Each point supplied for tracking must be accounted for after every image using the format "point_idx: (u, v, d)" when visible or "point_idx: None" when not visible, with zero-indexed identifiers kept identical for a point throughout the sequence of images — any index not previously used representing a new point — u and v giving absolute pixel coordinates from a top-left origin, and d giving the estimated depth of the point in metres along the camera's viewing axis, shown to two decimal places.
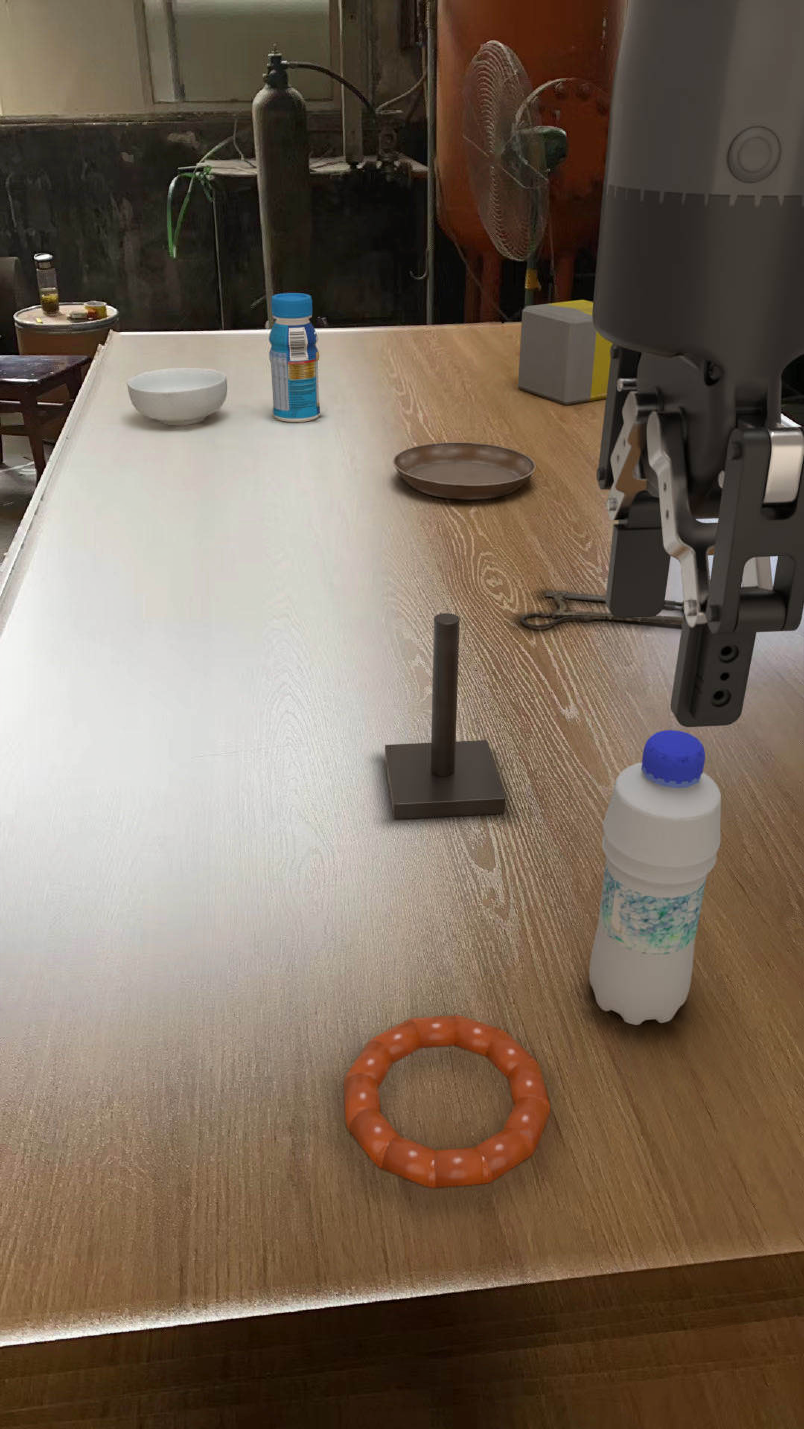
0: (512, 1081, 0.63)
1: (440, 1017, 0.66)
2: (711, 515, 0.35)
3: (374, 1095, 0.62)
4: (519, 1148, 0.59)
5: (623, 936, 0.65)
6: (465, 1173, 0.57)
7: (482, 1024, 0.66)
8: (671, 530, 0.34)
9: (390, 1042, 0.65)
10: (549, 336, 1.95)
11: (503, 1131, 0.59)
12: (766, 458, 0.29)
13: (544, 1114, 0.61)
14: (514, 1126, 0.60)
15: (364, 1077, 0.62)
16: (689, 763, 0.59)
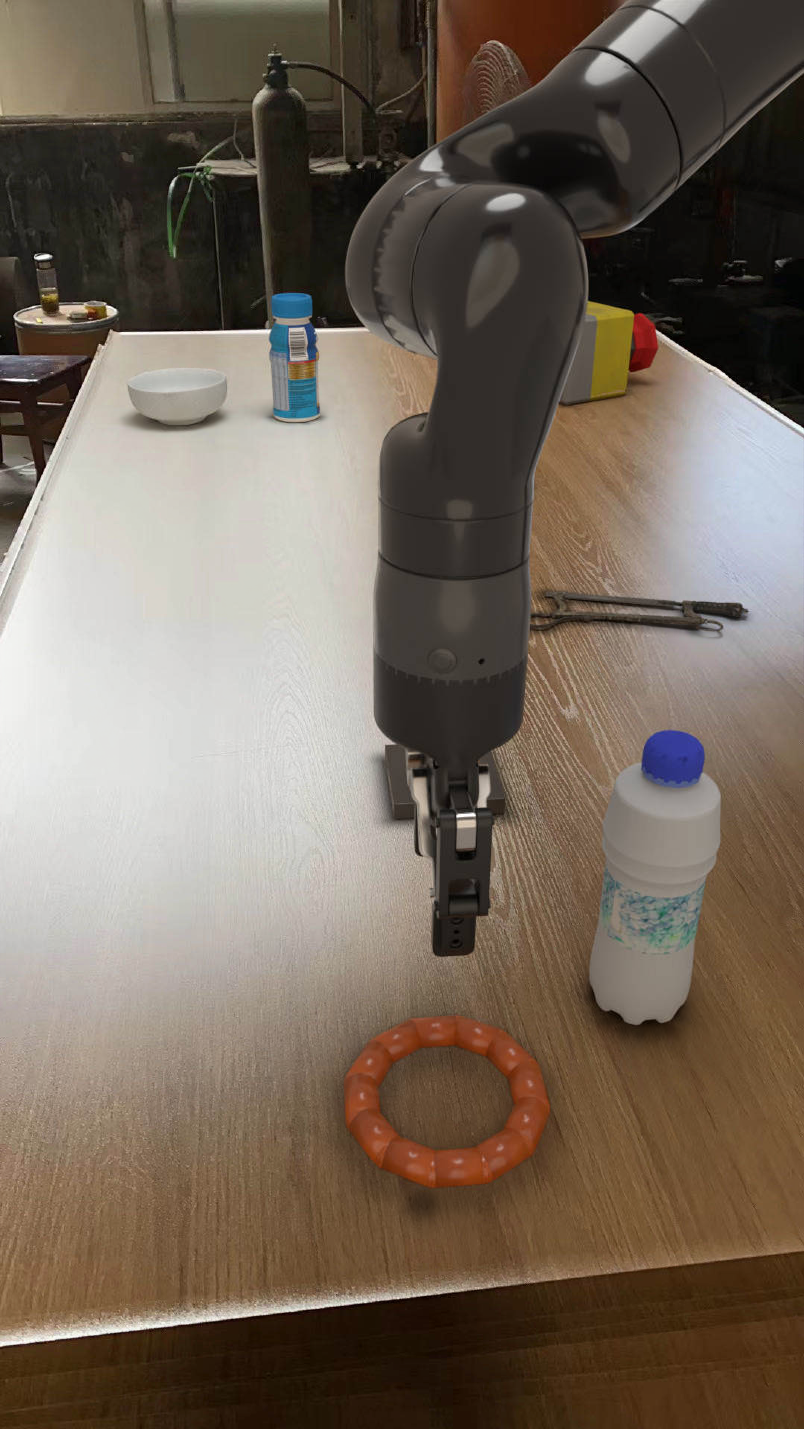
0: (512, 1081, 0.63)
1: (440, 1017, 0.66)
2: None
3: (374, 1095, 0.62)
4: (519, 1148, 0.59)
5: (623, 936, 0.65)
6: (465, 1173, 0.57)
7: (482, 1024, 0.66)
8: (420, 844, 0.54)
9: (390, 1042, 0.65)
10: None
11: (503, 1131, 0.59)
12: (454, 830, 0.50)
13: (544, 1114, 0.61)
14: (514, 1126, 0.60)
15: (364, 1077, 0.62)
16: (689, 763, 0.59)
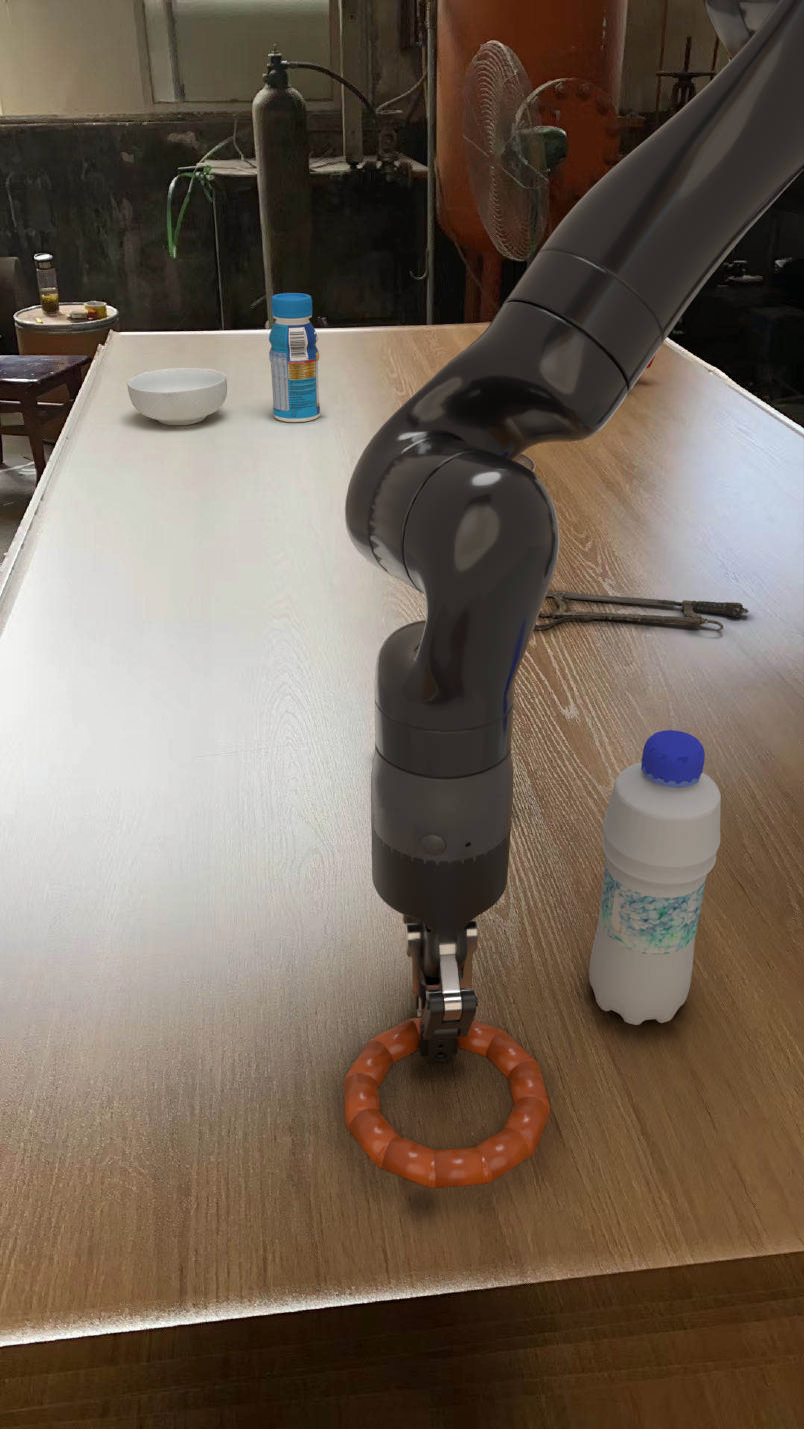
0: (512, 1081, 0.63)
1: None
2: None
3: (374, 1095, 0.62)
4: (519, 1148, 0.59)
5: (623, 936, 0.65)
6: (465, 1173, 0.57)
7: (482, 1024, 0.66)
8: (411, 983, 0.62)
9: (390, 1042, 0.65)
10: None
11: (503, 1131, 0.59)
12: (442, 1015, 0.57)
13: (544, 1114, 0.61)
14: (514, 1126, 0.60)
15: (364, 1077, 0.62)
16: (689, 763, 0.59)
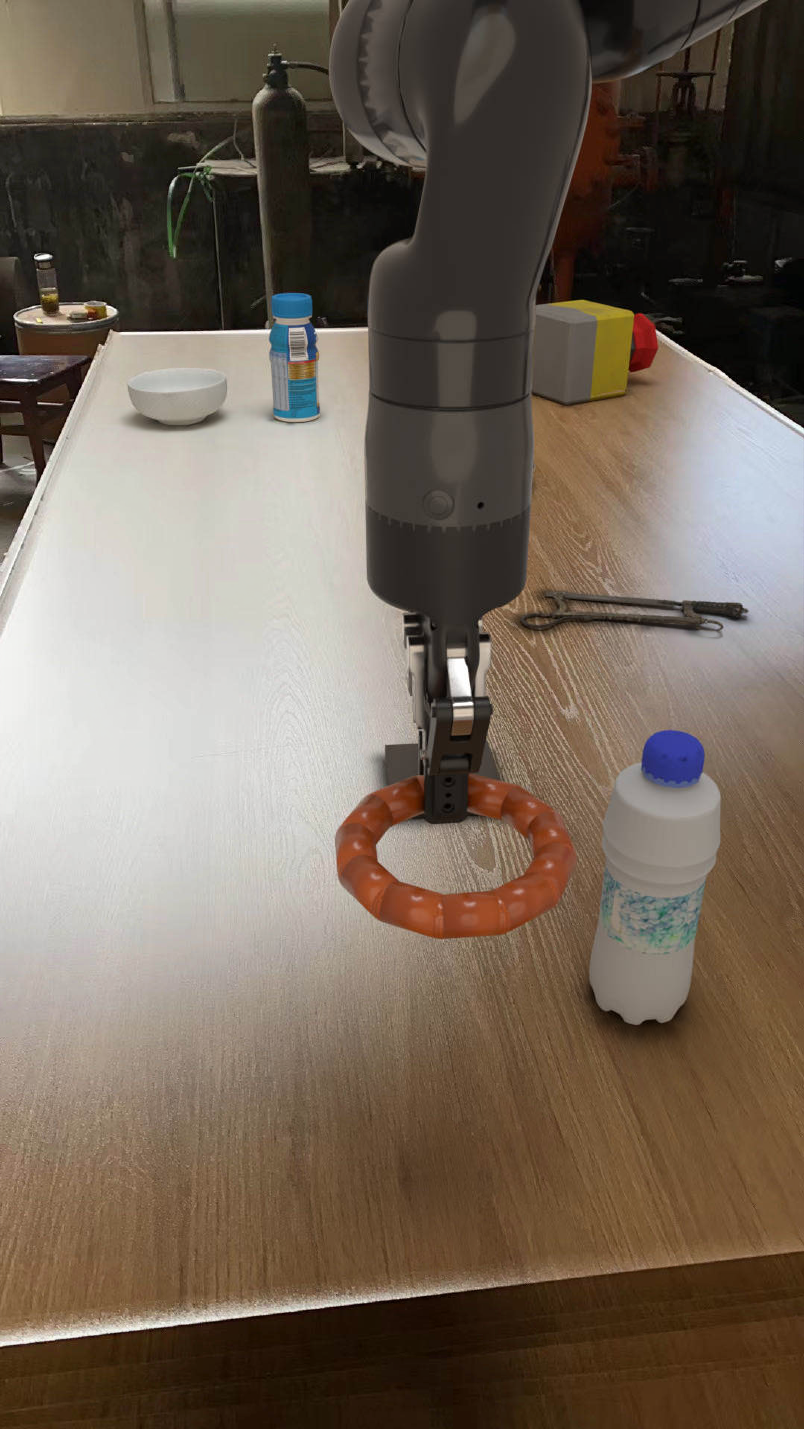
0: (532, 832, 0.54)
1: None
2: None
3: (370, 844, 0.53)
4: (542, 891, 0.50)
5: (623, 936, 0.65)
6: (478, 915, 0.48)
7: (496, 780, 0.57)
8: (413, 712, 0.53)
9: (389, 796, 0.56)
10: (549, 336, 1.95)
11: (522, 875, 0.50)
12: (450, 723, 0.48)
13: (570, 861, 0.52)
14: (535, 870, 0.51)
15: (359, 827, 0.53)
16: (689, 763, 0.59)
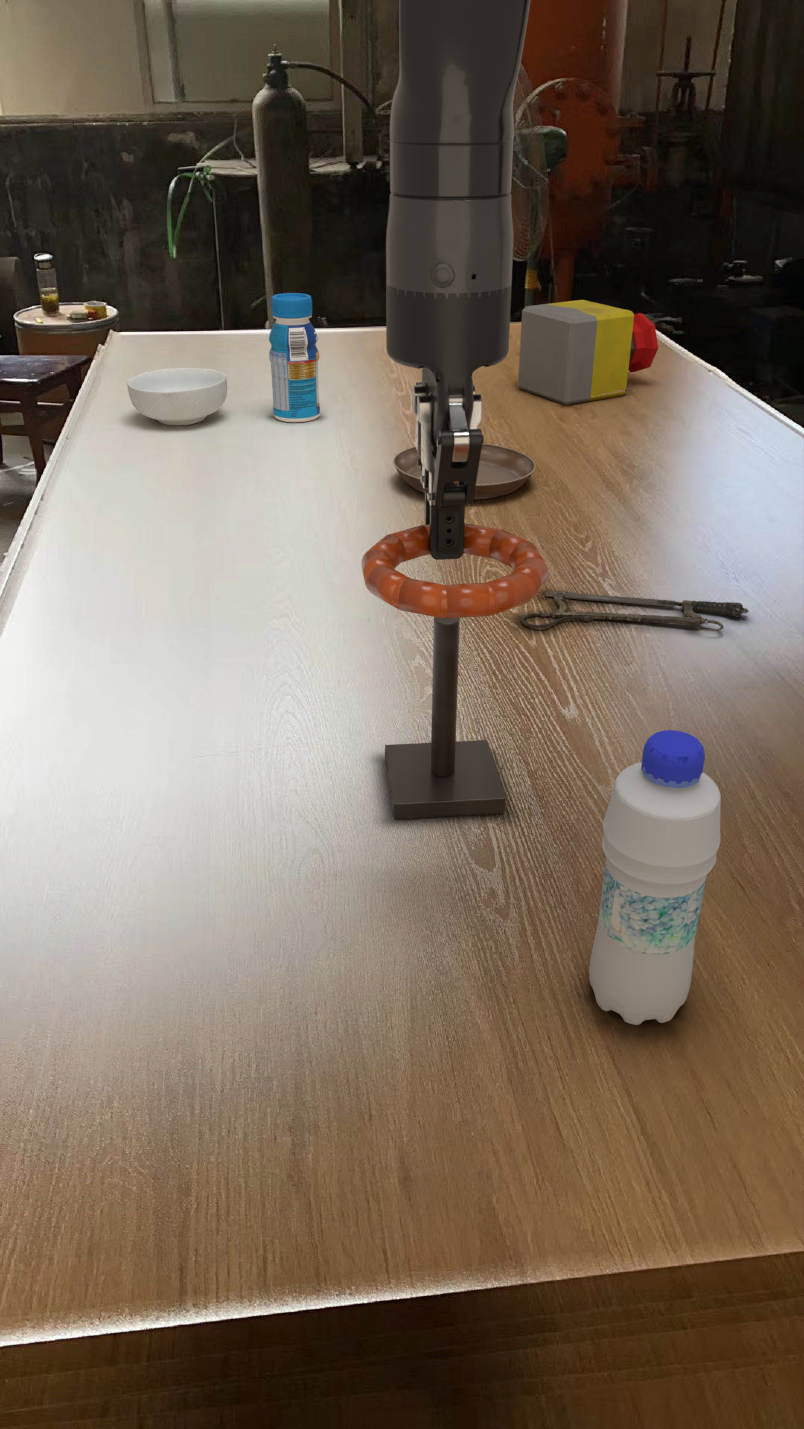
0: (513, 556, 0.70)
1: None
2: None
3: (389, 562, 0.68)
4: (521, 584, 0.65)
5: (623, 936, 0.65)
6: (473, 596, 0.64)
7: None
8: (422, 459, 0.68)
9: (402, 535, 0.71)
10: (549, 336, 1.95)
11: None
12: (451, 448, 0.64)
13: (543, 570, 0.68)
14: (516, 572, 0.66)
15: (380, 551, 0.69)
16: (689, 763, 0.59)
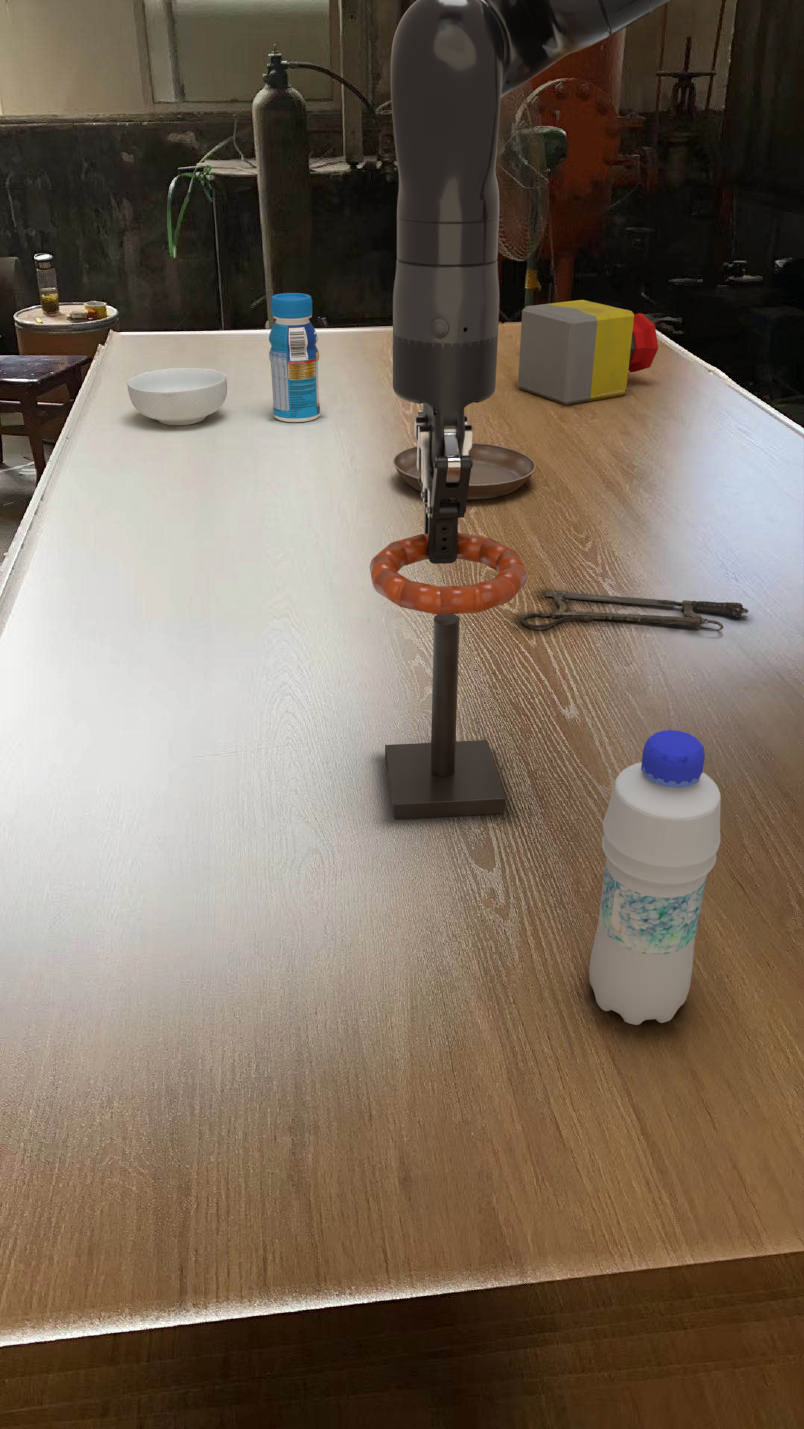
0: (498, 562, 0.82)
1: None
2: None
3: (393, 566, 0.81)
4: (503, 586, 0.78)
5: (623, 936, 0.65)
6: (462, 596, 0.77)
7: None
8: (422, 479, 0.81)
9: (405, 543, 0.84)
10: (549, 336, 1.95)
11: (491, 579, 0.79)
12: (445, 471, 0.76)
13: (522, 574, 0.80)
14: (499, 576, 0.79)
15: (385, 557, 0.82)
16: (689, 763, 0.59)
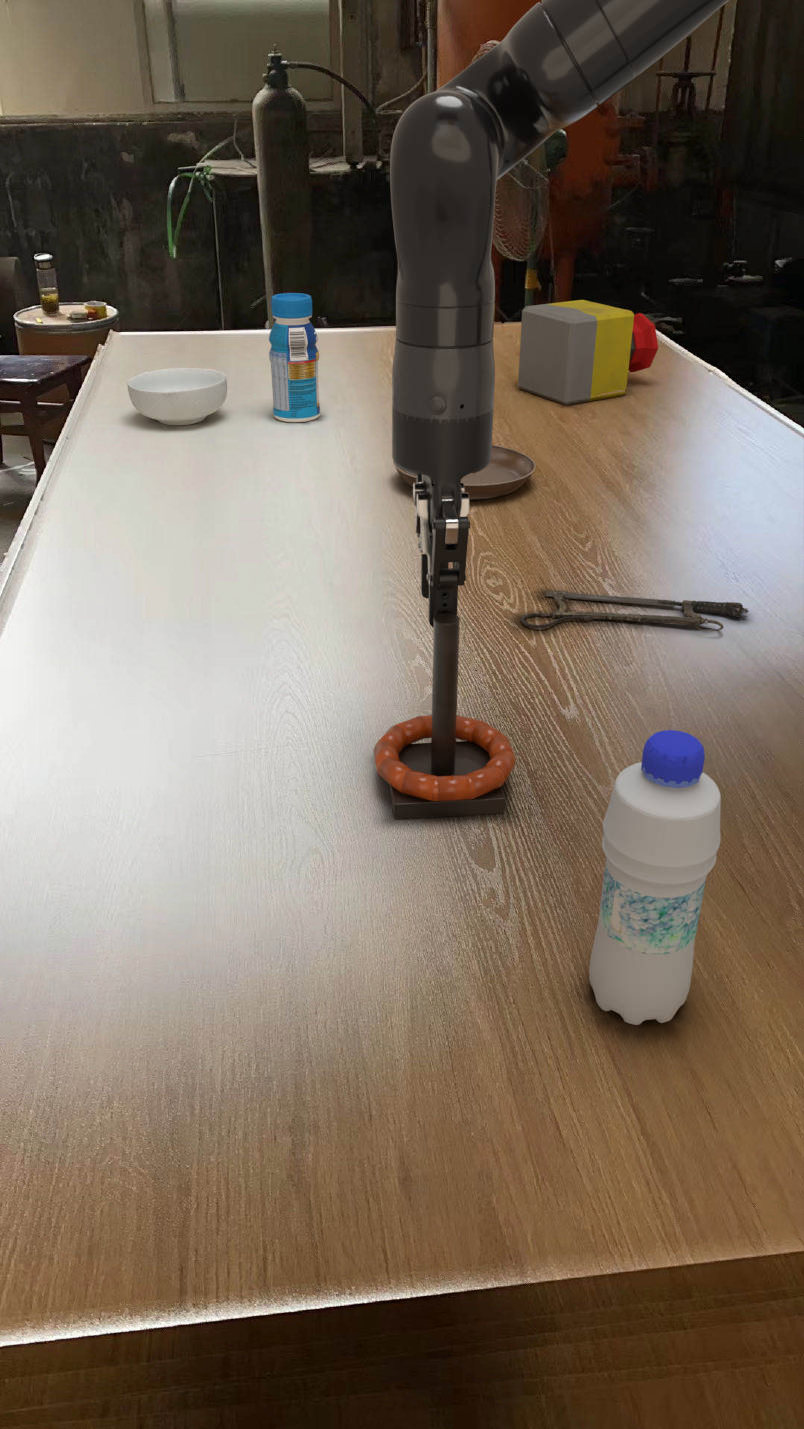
0: (490, 746, 0.91)
1: None
2: None
3: (395, 752, 0.90)
4: (494, 775, 0.87)
5: (623, 936, 0.65)
6: (457, 786, 0.86)
7: (469, 718, 0.94)
8: (422, 545, 0.83)
9: (405, 726, 0.93)
10: (549, 336, 1.95)
11: (483, 767, 0.88)
12: (444, 531, 0.78)
13: (511, 761, 0.89)
14: (490, 764, 0.88)
15: (388, 742, 0.91)
16: (689, 763, 0.59)
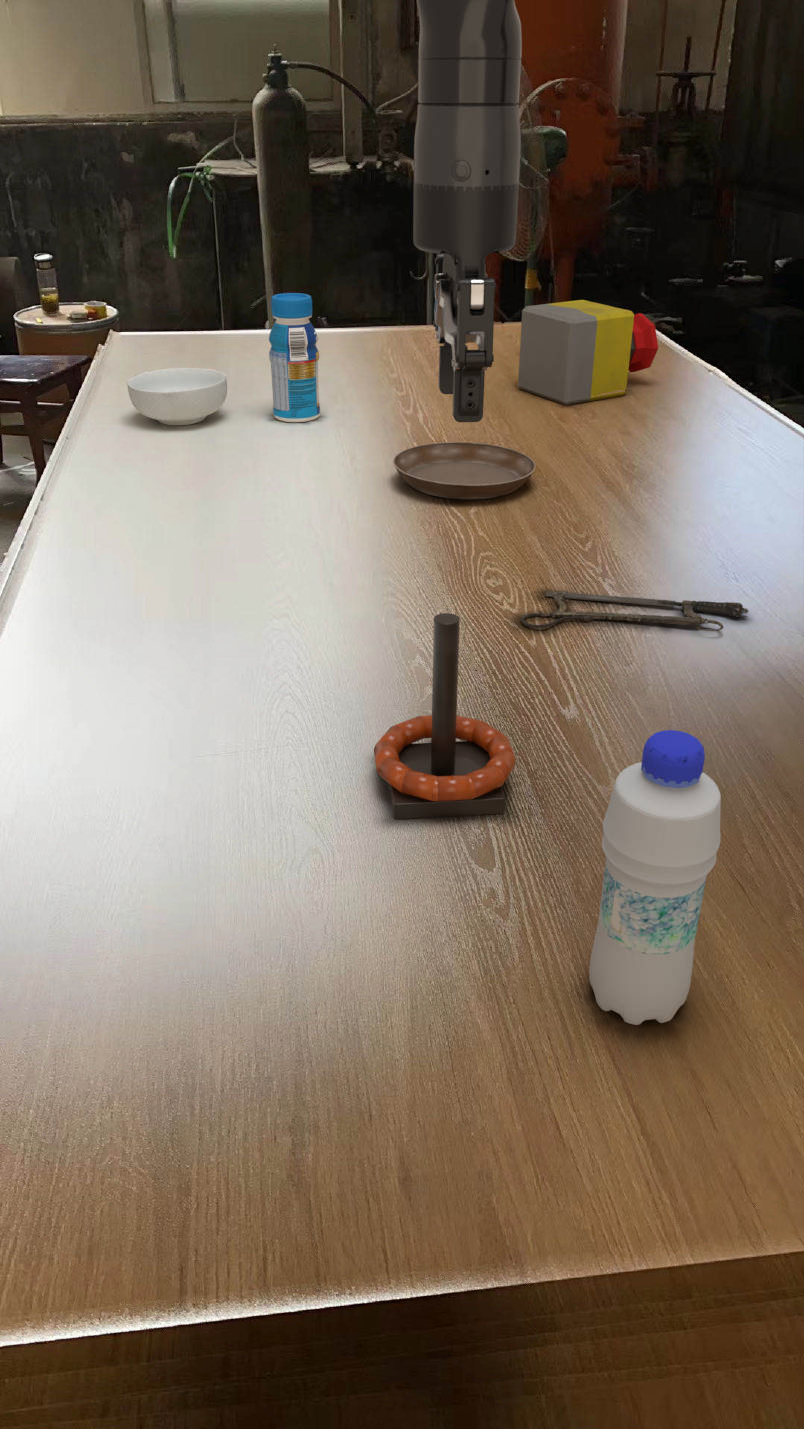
0: (490, 746, 0.91)
1: None
2: None
3: (395, 752, 0.90)
4: (494, 775, 0.87)
5: (623, 936, 0.65)
6: (457, 786, 0.86)
7: (469, 718, 0.94)
8: (445, 329, 0.79)
9: (405, 726, 0.93)
10: (549, 336, 1.95)
11: (483, 767, 0.88)
12: (469, 289, 0.75)
13: (511, 761, 0.89)
14: (490, 764, 0.88)
15: (388, 742, 0.91)
16: (689, 763, 0.59)
